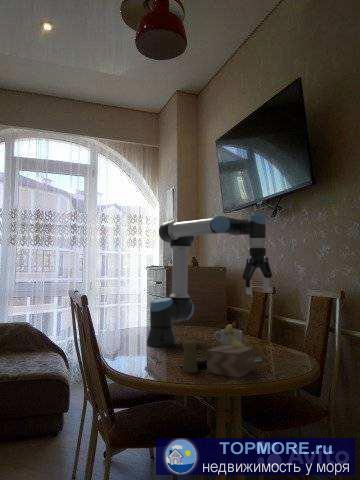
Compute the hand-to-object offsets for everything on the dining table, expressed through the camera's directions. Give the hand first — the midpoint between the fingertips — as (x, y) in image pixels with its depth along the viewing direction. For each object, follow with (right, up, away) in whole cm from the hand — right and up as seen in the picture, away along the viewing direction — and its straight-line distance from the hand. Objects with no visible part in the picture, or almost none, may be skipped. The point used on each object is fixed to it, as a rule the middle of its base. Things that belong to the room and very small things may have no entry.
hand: (257, 292), depth 170 cm
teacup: (-12, -29, +12) cm, 33 cm away
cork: (-33, -25, -33) cm, 53 cm away
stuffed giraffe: (-11, -27, -13) cm, 31 cm away
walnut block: (-17, -24, -34) cm, 45 cm away
